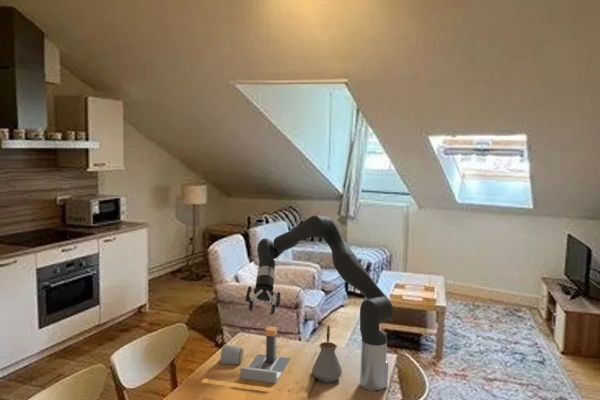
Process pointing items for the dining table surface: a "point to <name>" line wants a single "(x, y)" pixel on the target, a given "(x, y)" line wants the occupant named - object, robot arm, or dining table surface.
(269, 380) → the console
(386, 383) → the robot arm
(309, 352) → the dining table surface
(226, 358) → the ceramic mug
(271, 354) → the fader
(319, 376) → the coffee pot
